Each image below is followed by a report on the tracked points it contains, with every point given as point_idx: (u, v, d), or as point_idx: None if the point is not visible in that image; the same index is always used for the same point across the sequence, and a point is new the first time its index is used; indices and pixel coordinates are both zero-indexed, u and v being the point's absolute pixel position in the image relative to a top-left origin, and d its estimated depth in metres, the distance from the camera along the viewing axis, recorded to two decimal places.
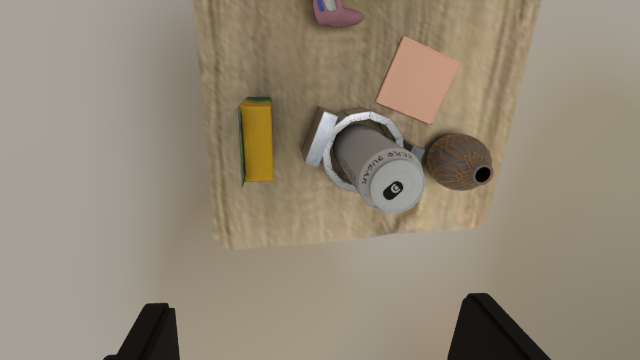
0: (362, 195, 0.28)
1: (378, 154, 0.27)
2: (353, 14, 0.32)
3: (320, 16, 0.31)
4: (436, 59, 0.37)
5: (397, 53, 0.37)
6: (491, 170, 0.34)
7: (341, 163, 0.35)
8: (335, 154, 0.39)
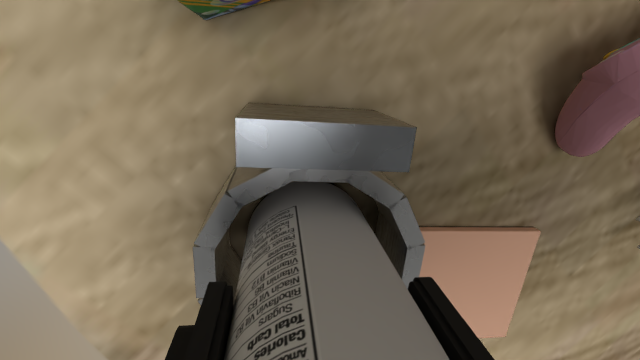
0: None
1: None
2: None
3: None
4: (506, 300, 0.20)
5: (510, 232, 0.18)
6: None
7: (275, 233, 0.11)
8: (276, 193, 0.14)
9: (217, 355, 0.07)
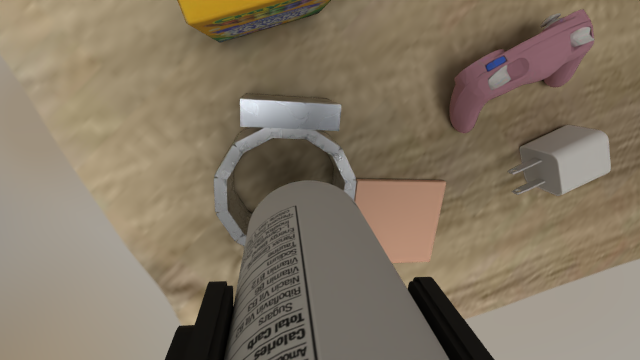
0: None
1: None
2: (476, 116, 0.23)
3: (476, 69, 0.20)
4: (427, 233, 0.28)
5: (424, 183, 0.27)
6: None
7: (275, 233, 0.11)
8: (276, 193, 0.14)
9: (217, 355, 0.07)
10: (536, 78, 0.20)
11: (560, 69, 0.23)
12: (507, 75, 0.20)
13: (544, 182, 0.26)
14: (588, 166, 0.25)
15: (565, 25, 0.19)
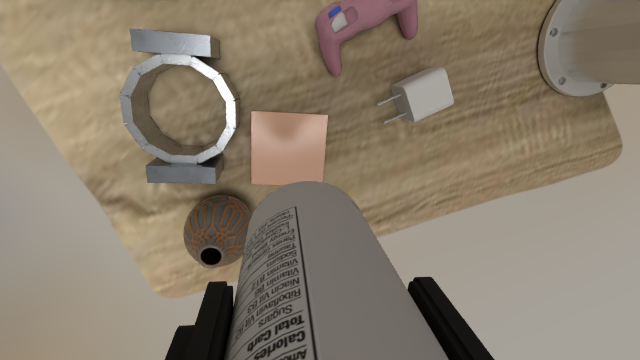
0: None
1: None
2: (337, 59, 0.29)
3: (323, 17, 0.27)
4: (316, 160, 0.35)
5: (309, 115, 0.33)
6: (220, 263, 0.28)
7: (275, 234, 0.11)
8: (276, 193, 0.14)
9: (217, 355, 0.07)
10: (367, 23, 0.26)
11: (405, 22, 0.29)
12: (344, 21, 0.26)
13: (406, 113, 0.33)
14: (433, 96, 0.31)
15: None
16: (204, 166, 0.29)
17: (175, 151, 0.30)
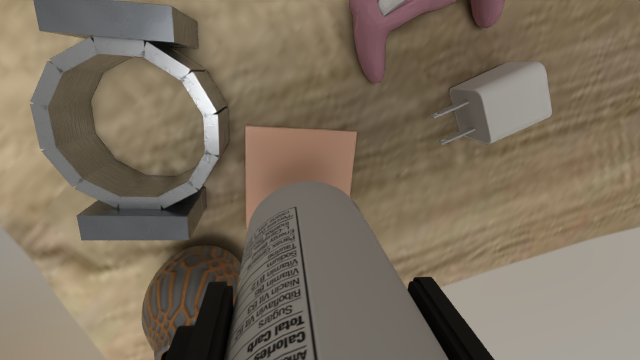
0: None
1: None
2: (381, 58, 0.19)
3: None
4: None
5: (330, 132, 0.23)
6: None
7: (275, 235, 0.11)
8: (276, 194, 0.14)
9: (217, 355, 0.07)
10: None
11: (485, 0, 0.19)
12: None
13: (475, 129, 0.22)
14: (522, 105, 0.20)
15: None
16: (170, 214, 0.19)
17: (129, 188, 0.20)
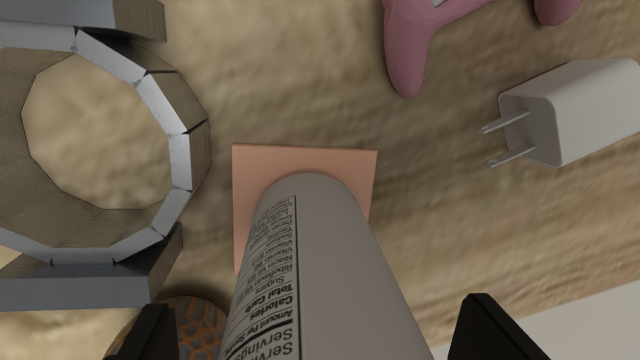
0: None
1: None
2: (422, 66, 0.14)
3: None
4: None
5: (342, 151, 0.17)
6: None
7: (275, 219, 0.12)
8: (279, 183, 0.16)
9: None
10: None
11: None
12: None
13: (535, 148, 0.17)
14: (607, 118, 0.15)
15: None
16: (125, 272, 0.13)
17: (72, 232, 0.15)
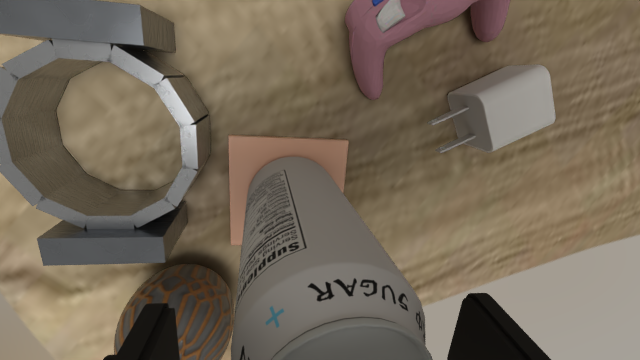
0: (265, 301, 0.08)
1: (404, 289, 0.09)
2: (379, 74, 0.18)
3: (361, 4, 0.15)
4: None
5: (319, 141, 0.21)
6: None
7: (271, 185, 0.16)
8: (269, 165, 0.19)
9: None
10: (439, 15, 0.15)
11: (487, 14, 0.18)
12: (400, 11, 0.15)
13: (475, 137, 0.21)
14: (525, 112, 0.19)
15: None
16: (144, 234, 0.17)
17: (99, 205, 0.18)
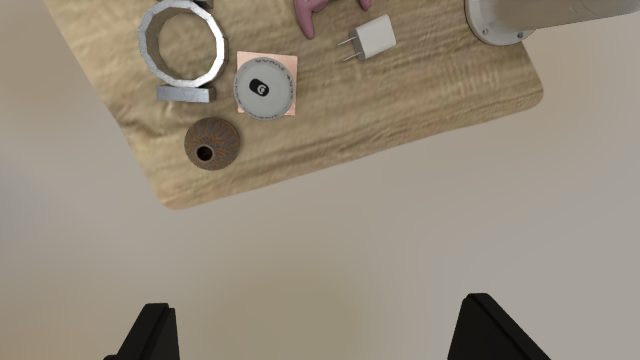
0: (243, 65, 0.29)
1: (284, 68, 0.30)
2: (309, 23, 0.39)
3: None
4: None
5: (282, 55, 0.42)
6: (211, 159, 0.37)
7: None
8: None
9: None
10: None
11: None
12: None
13: (361, 52, 0.42)
14: (379, 36, 0.40)
15: None
16: (200, 88, 0.38)
17: (178, 79, 0.39)
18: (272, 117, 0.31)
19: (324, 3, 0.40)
